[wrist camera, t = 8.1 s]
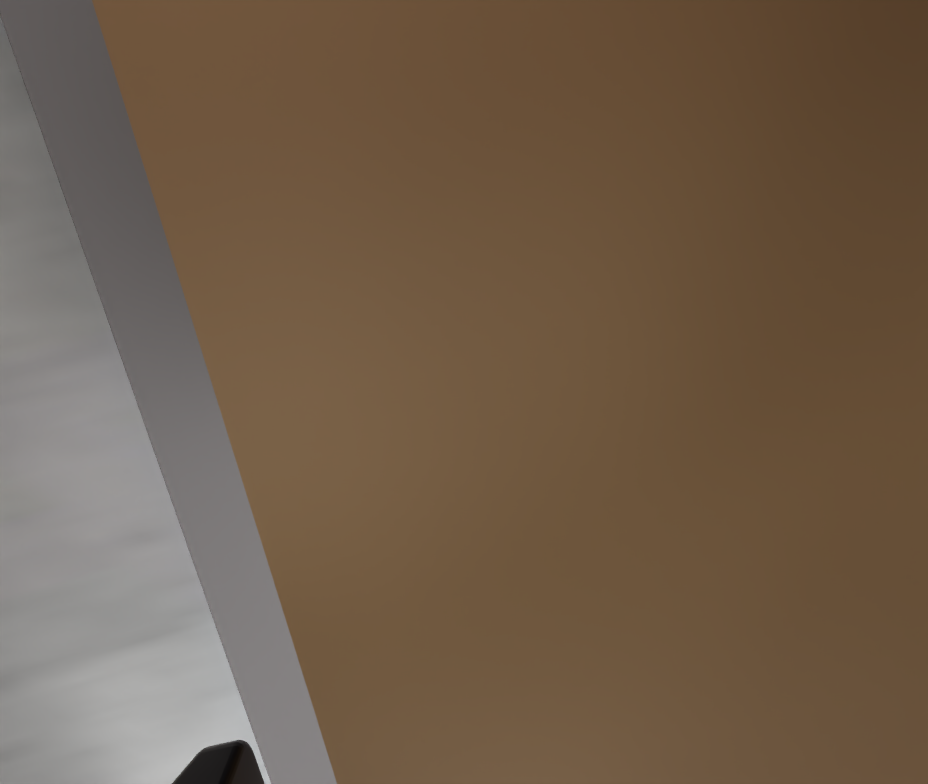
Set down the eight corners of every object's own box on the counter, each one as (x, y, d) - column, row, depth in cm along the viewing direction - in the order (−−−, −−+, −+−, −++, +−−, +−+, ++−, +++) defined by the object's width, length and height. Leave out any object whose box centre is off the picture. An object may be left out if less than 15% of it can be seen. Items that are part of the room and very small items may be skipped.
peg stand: (914, 742, 18) (1099, 959, 13) (321, 872, 18) (295, 1142, 13) (927, -317, 11) (1304, -628, 7) (-23, -137, 11) (-328, -329, 6)
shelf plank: (869, 931, 13) (1152, 1410, 8) (507, 1012, 13) (577, 1549, 8) (854, -257, 7) (1698, -952, 3) (220, -138, 7) (-107, -641, 2)
